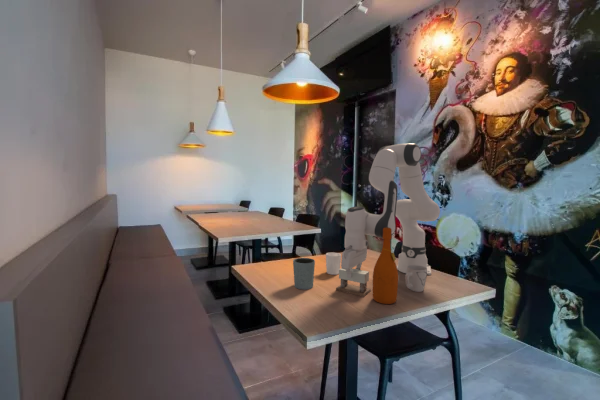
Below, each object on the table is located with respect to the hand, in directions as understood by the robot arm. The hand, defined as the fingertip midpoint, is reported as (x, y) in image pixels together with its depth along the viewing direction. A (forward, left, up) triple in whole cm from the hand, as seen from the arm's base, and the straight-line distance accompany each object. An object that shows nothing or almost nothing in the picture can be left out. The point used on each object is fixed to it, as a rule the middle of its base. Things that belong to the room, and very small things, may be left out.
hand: (353, 274), depth 133 cm
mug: (-17, +22, -7) cm, 29 cm away
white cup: (-18, -19, -7) cm, 27 cm away
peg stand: (0, 0, -7) cm, 7 cm away
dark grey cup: (+8, -21, -7) cm, 24 cm away
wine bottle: (+3, +15, -7) cm, 17 cm away
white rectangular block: (0, 0, -2) cm, 2 cm away
